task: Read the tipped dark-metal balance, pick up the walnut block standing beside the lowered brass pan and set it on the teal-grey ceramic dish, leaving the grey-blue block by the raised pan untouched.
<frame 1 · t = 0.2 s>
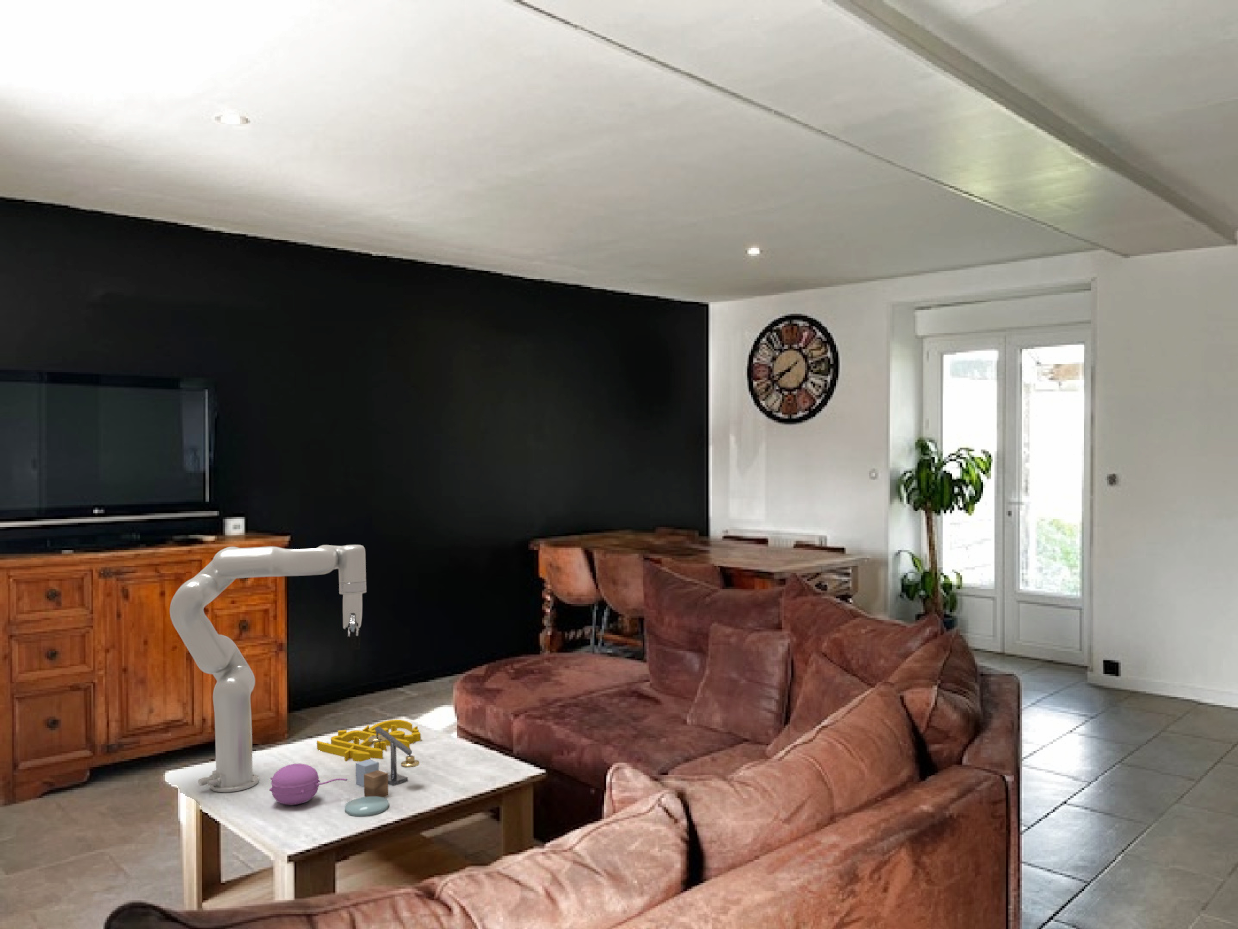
hand: (354, 646, 270), 37 cm above the table, tool pointing down, fingers open, 9 cm apart
purple ovoid with tail: (306, 804, 247), on the table
greyblue block: (367, 784, 262), on the table
balance: (393, 781, 263), on the table
walnut block: (376, 796, 252), on the table
decorative art: (375, 745, 300), on the table
dish: (366, 808, 243), on the table
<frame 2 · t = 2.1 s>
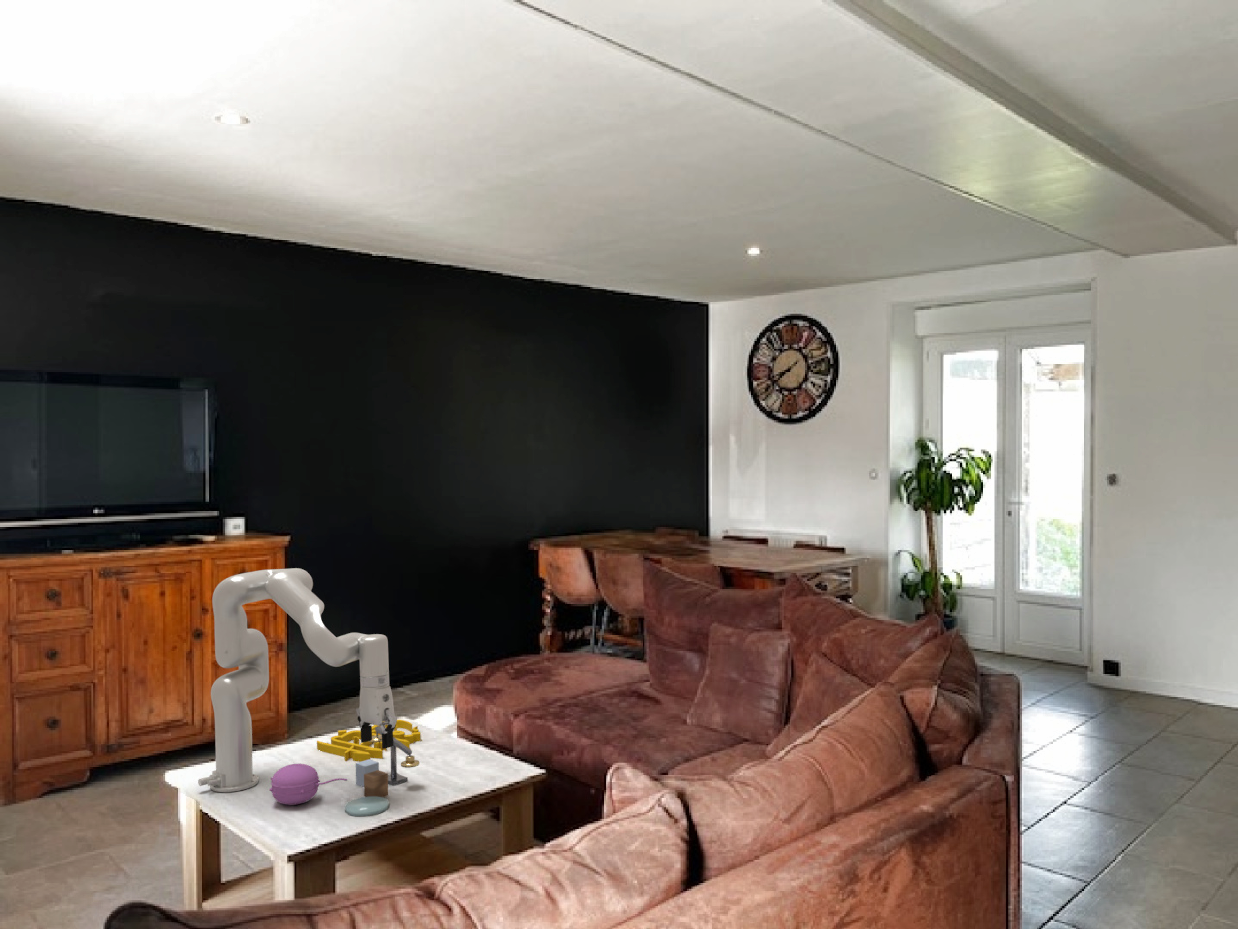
hand: (377, 744, 252), 14 cm above the table, tool pointing down, fingers open, 9 cm apart
nothing on the table moved.
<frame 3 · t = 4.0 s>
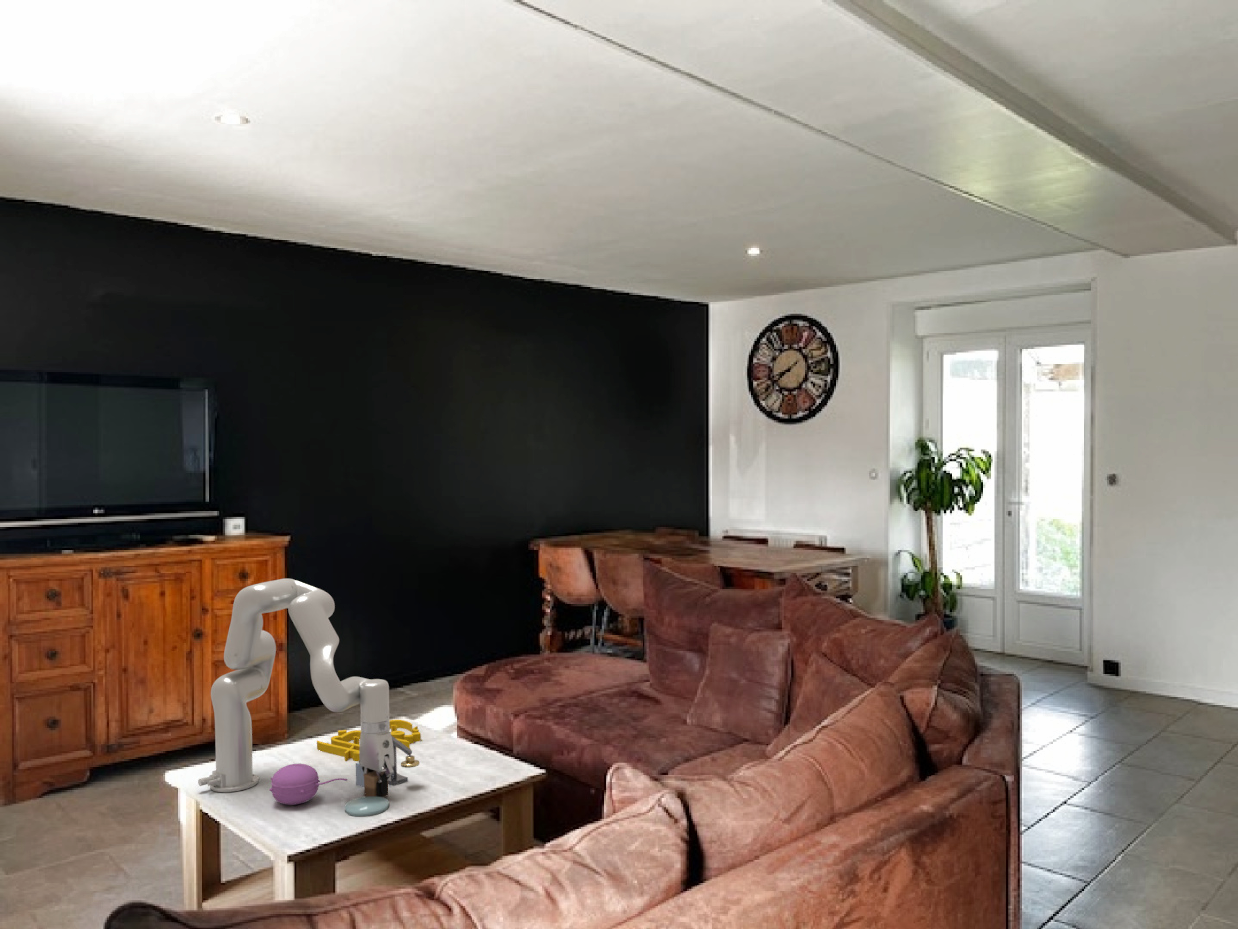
hand: (376, 793, 252), 1 cm above the table, tool pointing down, fingers closed on walnut block, 4 cm apart
walnut block: (376, 796, 252), on the table, touching gripper
everything else where it was.
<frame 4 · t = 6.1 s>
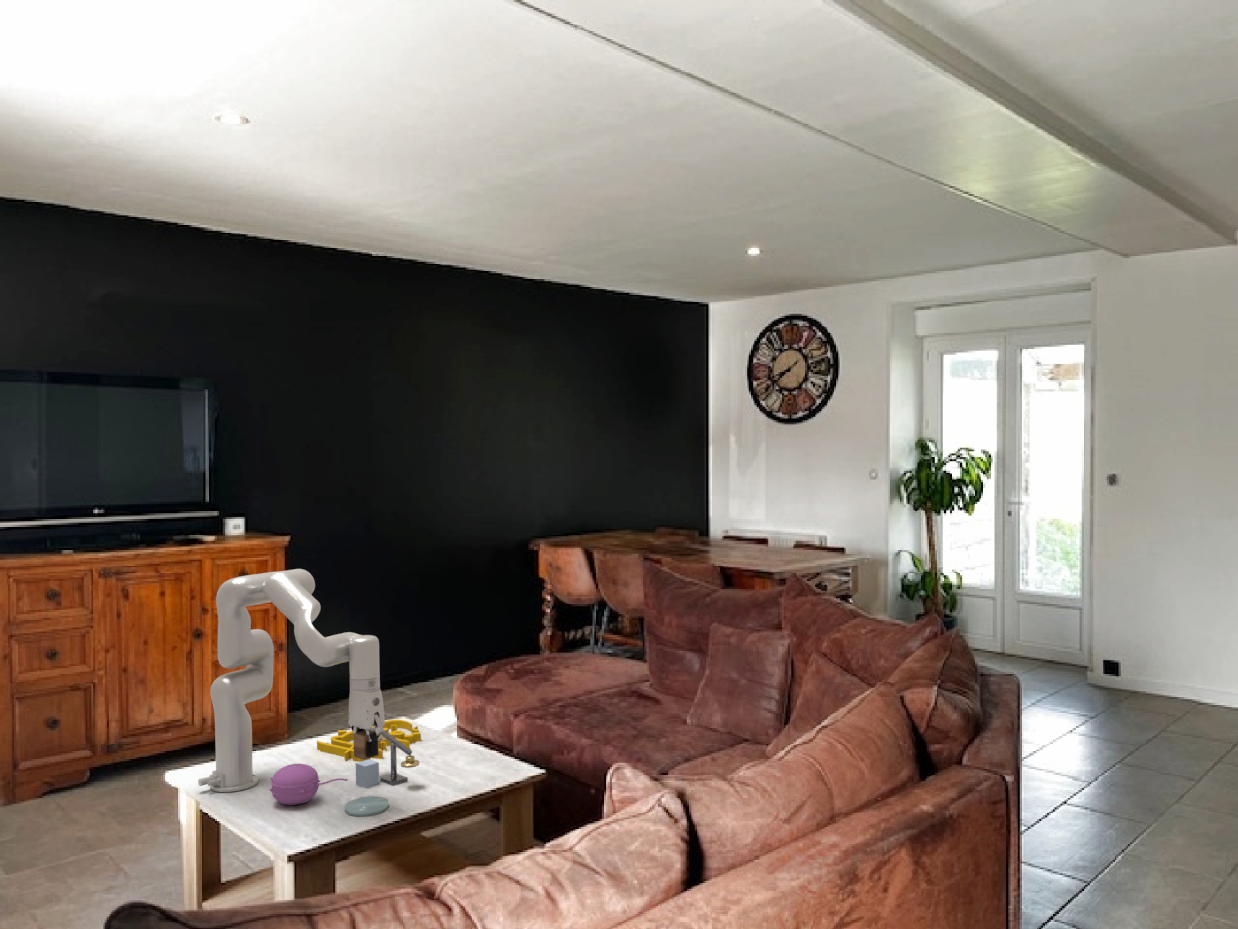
hand: (366, 753, 243), 14 cm above the table, tool pointing down, fingers closed on walnut block, 4 cm apart
walnut block: (366, 756, 243), point 14 cm above the table, touching gripper
everything else where it was.
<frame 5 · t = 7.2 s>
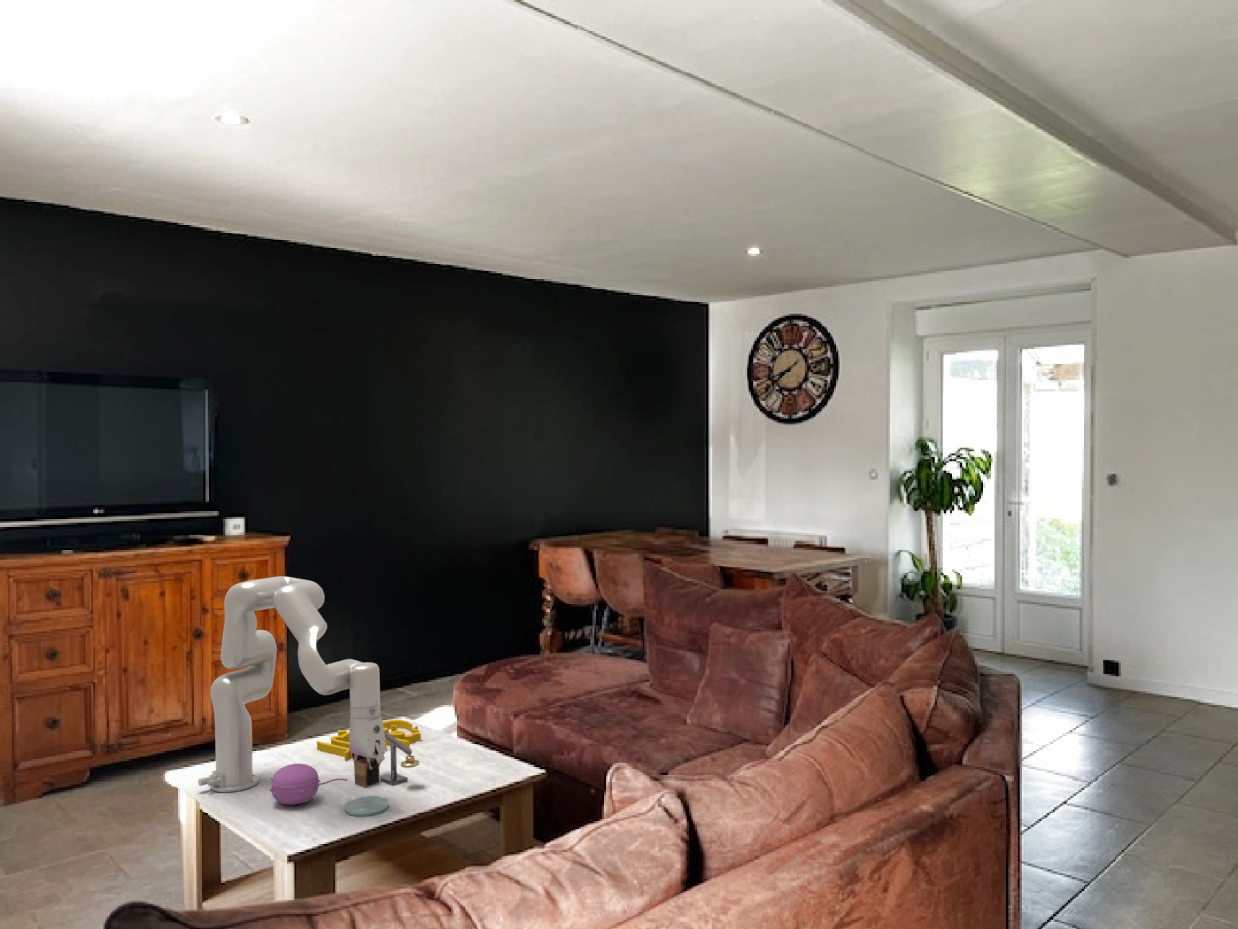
hand: (367, 780, 243), 7 cm above the table, tool pointing down, fingers closed on walnut block, 4 cm apart
walnut block: (367, 783, 243), point 7 cm above the table, touching gripper
everything else where it was.
when the fingers open (3 cm above the table, at t = 8.3 s): walnut block drops 1 cm, resting on dish.
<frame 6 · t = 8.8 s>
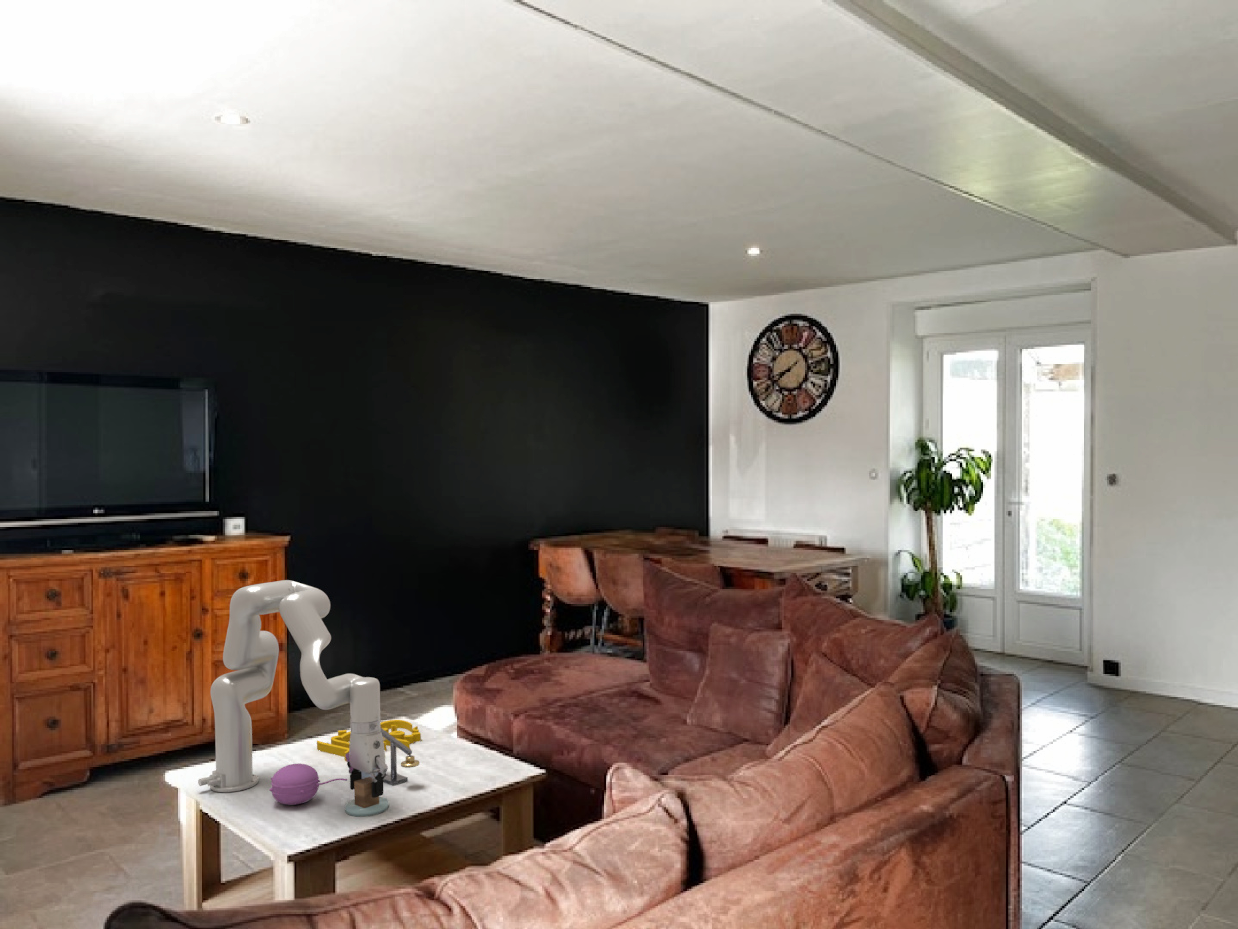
hand: (366, 792, 243), 4 cm above the table, tool pointing down, fingers open, 9 cm apart
walnut block: (367, 804, 243), point 1 cm above the table, touching dish
everything else where it was.
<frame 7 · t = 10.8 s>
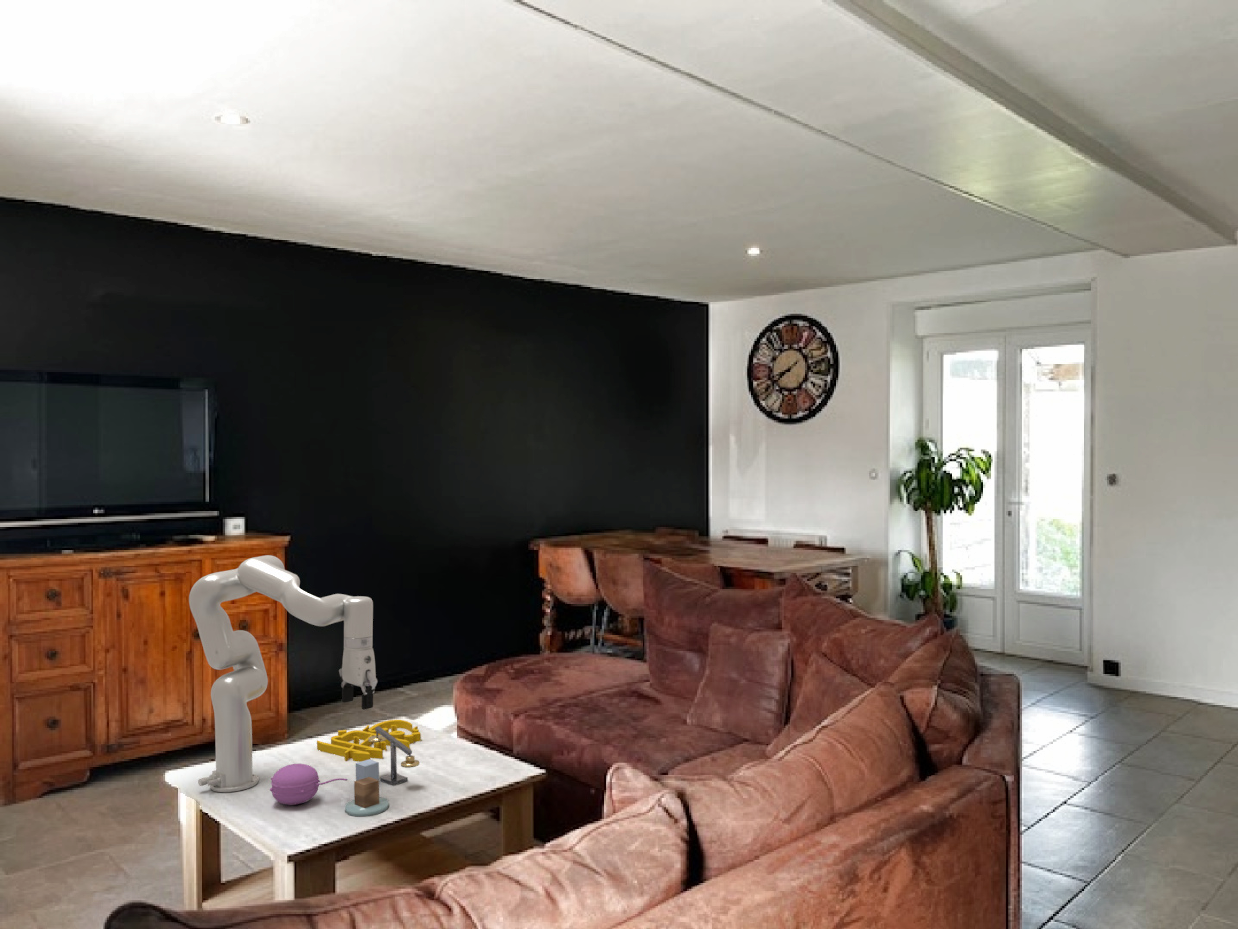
hand: (357, 705, 254), 24 cm above the table, tool pointing down, fingers open, 9 cm apart
nothing on the table moved.
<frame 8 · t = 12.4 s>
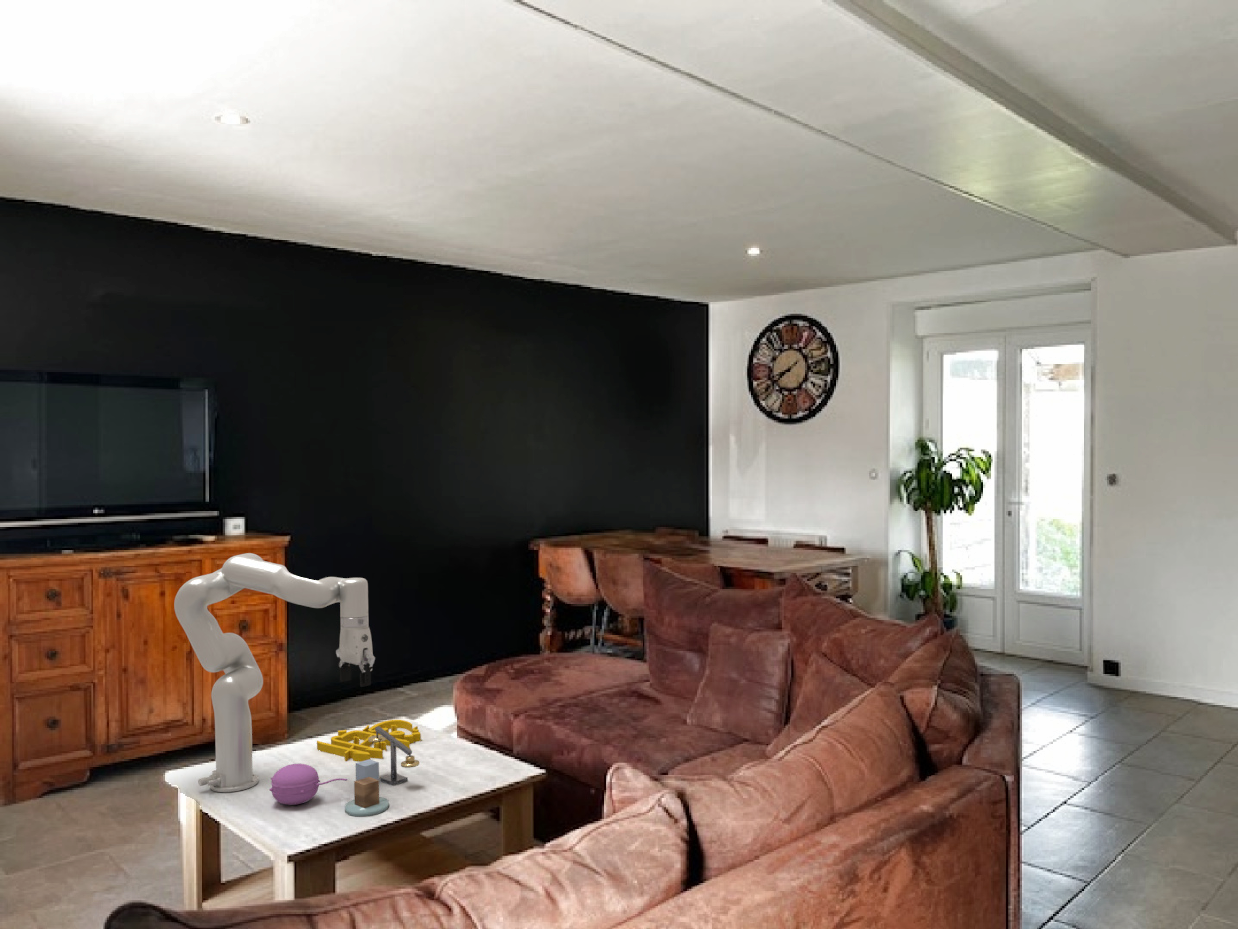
hand: (355, 683, 261), 28 cm above the table, tool pointing down, fingers open, 9 cm apart
nothing on the table moved.
at the end: walnut block inside the target area on the dish (0.0 cm from its centre), point 1.2 cm above the dish's base; walnut block tilted 0°; greyblue block moved 0.1 cm from its start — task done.
